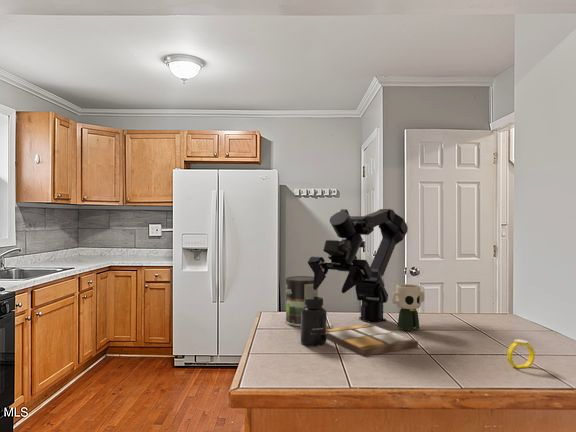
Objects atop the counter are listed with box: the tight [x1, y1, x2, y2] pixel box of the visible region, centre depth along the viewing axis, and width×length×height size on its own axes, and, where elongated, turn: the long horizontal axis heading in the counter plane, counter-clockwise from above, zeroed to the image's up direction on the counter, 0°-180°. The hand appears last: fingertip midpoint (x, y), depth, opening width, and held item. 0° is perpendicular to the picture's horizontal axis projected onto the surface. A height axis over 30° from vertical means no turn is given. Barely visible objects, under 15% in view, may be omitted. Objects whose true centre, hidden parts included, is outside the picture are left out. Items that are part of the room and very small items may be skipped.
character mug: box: [391, 283, 425, 331], centre depth 134 cm, size 11×7×13 cm, turn 109°
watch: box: [506, 338, 536, 369], centre depth 100 cm, size 6×3×6 cm, turn 101°
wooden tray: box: [326, 323, 419, 357], centre depth 121 cm, size 17×20×2 cm
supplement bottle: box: [300, 296, 328, 347], centre depth 120 cm, size 7×7×12 cm
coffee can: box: [285, 275, 319, 327], centre depth 143 cm, size 10×10×14 cm
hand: (328, 290), depth 125 cm, fingers open, 9 cm apart
